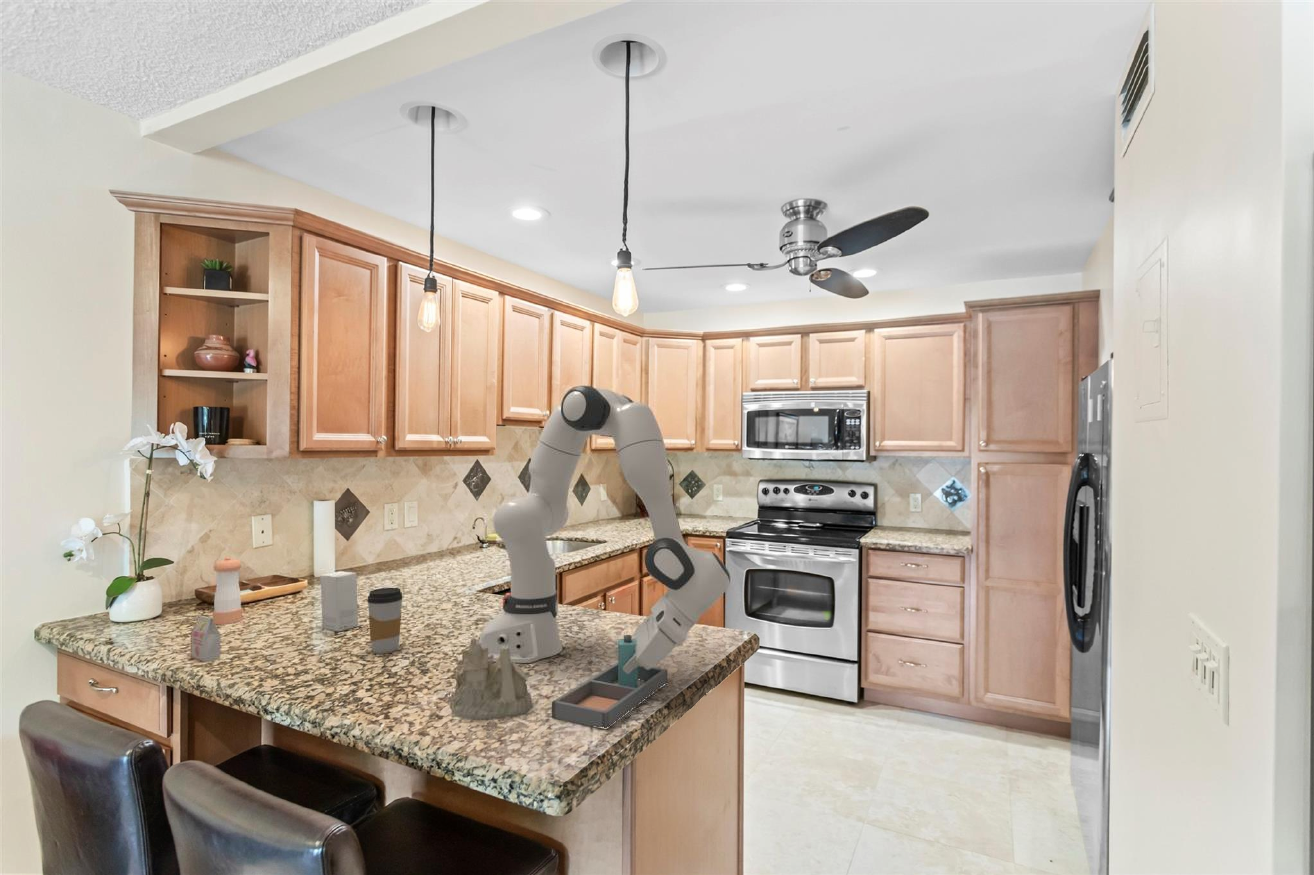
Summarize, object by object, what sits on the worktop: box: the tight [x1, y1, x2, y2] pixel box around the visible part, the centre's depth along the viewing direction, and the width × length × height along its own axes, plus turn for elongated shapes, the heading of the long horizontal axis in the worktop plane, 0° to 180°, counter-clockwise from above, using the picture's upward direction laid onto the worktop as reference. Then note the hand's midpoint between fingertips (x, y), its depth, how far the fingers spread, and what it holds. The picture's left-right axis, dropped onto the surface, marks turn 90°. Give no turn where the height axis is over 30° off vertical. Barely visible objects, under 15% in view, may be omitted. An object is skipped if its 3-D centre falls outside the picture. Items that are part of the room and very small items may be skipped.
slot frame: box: [551, 662, 668, 728], centre depth 129 cm, size 25×12×3 cm, turn 153°
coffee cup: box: [366, 587, 403, 655], centre depth 162 cm, size 8×8×15 cm
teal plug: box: [617, 634, 639, 688], centre depth 134 cm, size 4×4×11 cm
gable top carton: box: [190, 614, 221, 663], centre depth 157 cm, size 4×7×10 cm, turn 58°
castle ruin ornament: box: [449, 636, 533, 721], centre depth 128 cm, size 16×16×15 cm
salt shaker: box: [212, 556, 243, 625], centre depth 191 cm, size 7×7×19 cm
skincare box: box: [320, 570, 359, 632], centre depth 183 cm, size 8×7×16 cm
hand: (624, 666), depth 134 cm, fingers closed on teal plug, 4 cm apart
